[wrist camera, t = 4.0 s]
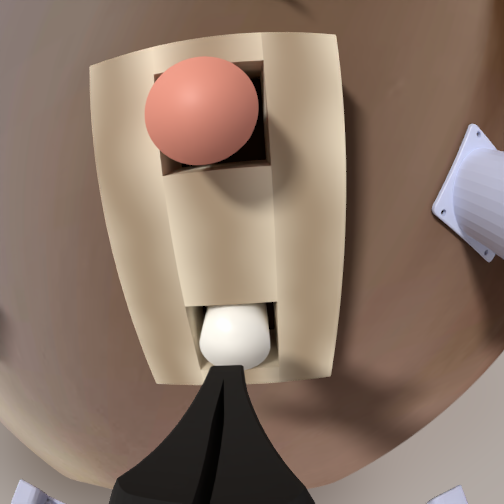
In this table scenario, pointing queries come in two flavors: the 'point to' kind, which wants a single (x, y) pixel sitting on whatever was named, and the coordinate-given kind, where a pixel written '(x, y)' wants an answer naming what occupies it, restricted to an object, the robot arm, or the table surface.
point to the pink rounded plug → (201, 110)
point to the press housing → (229, 207)
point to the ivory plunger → (236, 334)
